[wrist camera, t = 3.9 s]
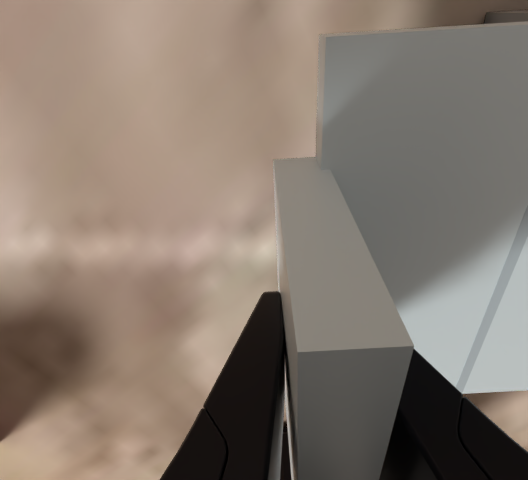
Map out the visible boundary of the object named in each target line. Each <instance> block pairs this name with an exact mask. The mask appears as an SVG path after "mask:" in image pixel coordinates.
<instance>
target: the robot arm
mask: <svg viewBox="0 0 528 480" xmlns="http://www.w3.org/2000/svg"><path fill="white" fill-rule="evenodd" d="M284 400H285V346H284V320H283V310H282V301H281V294H280V292H278V291H273V292H264V293H263V294H262V295H261V297H260V299H259V301H258V303H257V305H256V307H255V309H254V310H253V312H252V314H251V316H250V318H249V320H248V322H247V324H246V326H245V327H244V329H243V331H242V333H241V335H240V337H239V339H238V341H237V343H236V345H235V346H234V348H233V350H232V352H231V354H230V356H229V358H228V360H227V362H226V363H225V365H224V367H223V369H222V371H221V373H220V375H219V377H218V379H217V380H216V382H215V384H214V386H213V388H212V390H211V392H210V394H209V396H208V398H207V399H206V401H205V403H204V405H203V407H204V408H202V409H201V410H200V412H199V414H198V416H197V418H196V420H195V422H194V424H193V426H192V427H191V429H190V431H189V433H188V434H187V436H186V438H185V440H184V441H183V443H182V445H181V447H180V448H179V450H178V452H177V453H176V455H175V457H174V458H173V460H172V461H171V463H170V464H169V466H168V467H167V469H166V471H165V472H164V474H163V475H162V477H161V478H160V480H292V479H291V466H290V454H289V441H288V429H287V428H283V418H284ZM379 480H528V452H527V451H526V450H525V449H524V448H522V447H521V446H520V445H519V444H518V443H516V442H515V441H514V440H513V439H512V438H510V437H509V436H508V435H507V434H506V433H505V432H504V431H502V430H501V429H500V428H499V427H498V426H497V425H496V424H495V423H494V422H492V421H491V420H490V419H489V418H488V417H487V416H486V415H485V414H484V413H482V412H481V411H480V410H479V409H478V408H477V407H476V406H475V405H474V404H473V403H472V402H471V401H470V400H469V399H468V398H466V397H463V394H462V393H461V392H460V391H459V390H458V389H457V388H456V387H455V386H453V385H452V384H451V383H450V382H449V381H448V380H447V379H446V378H445V377H444V376H443V375H442V374H441V373H440V372H439V371H437V370H436V369H435V368H434V367H433V366H432V365H431V364H430V363H429V362H428V361H427V360H426V359H425V358H424V357H423V356H421V355H420V354H419V353H418V352H417V351H416V350H415V349H413V353H412V357H411V360H410V364H409V368H408V372H407V375H406V379H405V383H404V387H403V391H402V394H401V398H400V402H399V406H398V410H397V413H396V417H395V421H394V425H393V428H392V432H391V436H390V440H389V444H388V447H387V451H386V455H385V459H384V463H383V466H382V470H381V474H380V478H379Z"/></svg>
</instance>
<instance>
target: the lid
mask: <svg viewBox="0 0 528 480" xmlns="http://www.w3.org/2000/svg"><path fill="white" fill-rule="evenodd" d="M273 171H274V196H275V221H276V246H277V271H278V292H280V294H281V301H282V310H283V320H284V346H285V404H286V416H287V429H288V441H289V454H290V466H291V479H292V480H379V478H380V474H381V470H382V466H383V463H384V459H385V455H386V451H387V447H388V444H389V440H390V436H391V432H392V428H393V425H394V421H395V417H396V413H397V410H398V406H399V402H400V398H401V394H402V391H403V387H404V383H405V379H406V375H407V372H408V368H409V364H410V360H411V357H412V353H413V349H415V350H416V351H417V352H418V353H419V354H420V355H421V356H423V357H424V358H425V359H426V360H427V361H428V362H429V363H430V364H431V365H432V366H433V367H434V368H435V369H436V370H437V371H439V372H440V373H441V374H442V375H443V376H444V377H445V378H446V379H447V380H448V381H449V382H450V383H451V384H452V385H453V386H455V387H456V388H457V389H458V390H459V391H460V392H461V393H462V394H469V393H488V392H507V391H526V390H528V21H525V22H509V23H492V24H476V25H460V26H444V27H427V28H411V29H395V30H379V31H362V32H346V33H330V34H319V53H318V89H317V124H316V157H305V158H288V159H273Z"/></svg>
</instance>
